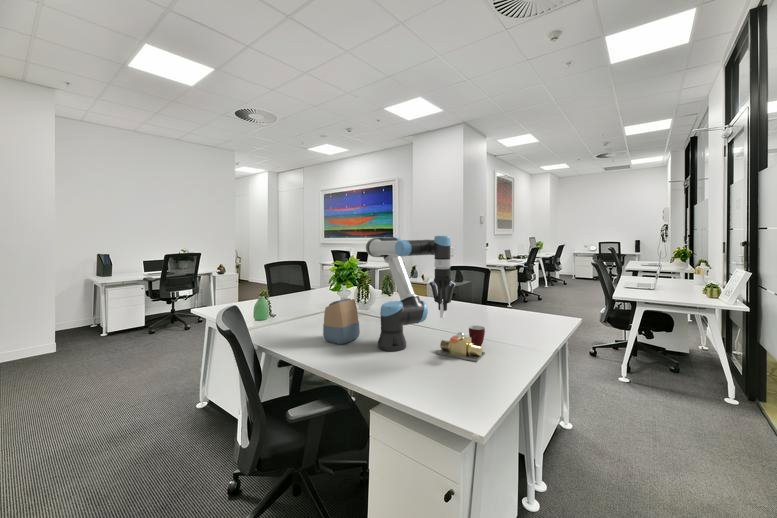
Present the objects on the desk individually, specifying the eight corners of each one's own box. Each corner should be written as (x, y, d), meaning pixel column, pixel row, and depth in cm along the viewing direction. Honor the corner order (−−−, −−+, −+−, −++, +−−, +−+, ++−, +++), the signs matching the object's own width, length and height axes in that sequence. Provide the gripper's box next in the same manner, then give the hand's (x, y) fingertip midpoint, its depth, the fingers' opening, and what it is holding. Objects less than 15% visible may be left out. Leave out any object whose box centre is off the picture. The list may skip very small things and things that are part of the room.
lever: (459, 336, 169) (459, 331, 169) (465, 337, 167) (465, 332, 167) (449, 343, 159) (449, 338, 158) (455, 344, 157) (455, 339, 157)
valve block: (437, 354, 168) (437, 338, 167) (446, 347, 178) (446, 332, 177) (476, 362, 157) (476, 345, 156) (484, 354, 167) (484, 338, 166)
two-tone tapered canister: (341, 334, 204) (340, 295, 202) (362, 338, 194) (361, 298, 192) (320, 341, 190) (319, 300, 188) (342, 346, 180) (341, 303, 179)
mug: (482, 351, 171) (482, 331, 170) (466, 349, 174) (466, 330, 173) (485, 344, 180) (485, 326, 180) (470, 343, 184) (470, 324, 183)
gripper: (426, 268, 162) (427, 317, 163) (452, 269, 155) (452, 320, 156) (433, 266, 168) (433, 314, 170) (458, 267, 161) (458, 317, 162)
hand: (442, 317), depth 163 cm, fingers closed
